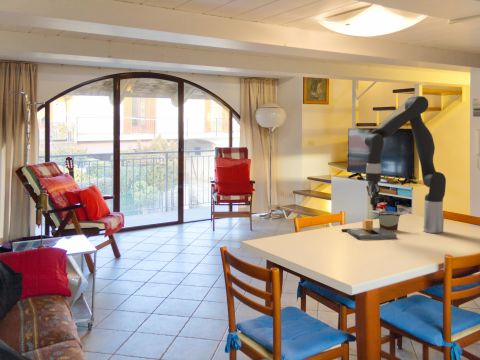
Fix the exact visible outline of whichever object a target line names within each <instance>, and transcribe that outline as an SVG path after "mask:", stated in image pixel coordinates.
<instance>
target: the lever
mask: <svg viewBox="0 0 480 360" xmlns="http://www.w3.org/2000/svg"><path fill="white" fill-rule="evenodd" d="M373 223H374V220H372V219H369V218H367V219H362V228H363V229H364V231H366V232H368V233H371V230H373V228H374V224H373Z"/></svg>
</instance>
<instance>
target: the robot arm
mask: <svg viewBox="0 0 480 360" xmlns="http://www.w3.org/2000/svg"><path fill="white" fill-rule="evenodd" d="M428 108H429V100H428V99H427V98H426V97H425V96H423V95H422V96H421V95H418V96H417V95H416V96H411V97H409V98H407V99H406V100H405V102H404V110H403V111H401V112H400V113H398V114H396V115H395V116H393V117H391V118H389V119H388V120H386V122H384V123H383V124H382V125H380V126H379V127H377V128H376V129H374V130H373V131H371V132H369V133H368V134H367V135H366V136H365V138H364V144H365V145H366V146H367V147H368V148H370V152H368V153H367V154H366V166H365V181H366V182H368V185H366V191H367V194H368V197H369V198H370V200H369V201H370V202H369V204H370V205H372V206H375V205H376V198H378V197H379V194H380V191H381V188H379V182H381V180H382V165H381V164H382V163H381V160H382V152H383V148H384V145H385V140H384V139H387V138H389V137H391V136H392V135H393V134H395V133H396V132H398V130H399V129H401V128H402V127H403V126H404V125H406V124H407V123H408V122H409V124H410V127H411V132H412V136H413V139H414V143H415V148H416V151H417V155H418V160H419V164H420V169H421V177H422V182H423V184H424V186H426V187H427V188H428V189H429V190H428V193H427V194H425V196H424V207H423V208H424V209H423V211H424V213H423V232H425V233H430V234H440V233H444V223H445V221H444V220H445V215H444V214H443V209H444V207H443V206H444V205H443V204H444V197H445V195H446V185H447V178H446V176H445V174H444V173H442V172H440V171H437V170H436V167H435V164H434V155H435V149H436V147H435V141H434V137H433V135H432V133H431V130H429V128H428V127H427V126H426V124H425V123H424V120H423V119H422V114H423V113H424V112H426V111H427V109H428Z"/></svg>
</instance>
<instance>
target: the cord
mask: <svg viewBox="0 0 480 360" xmlns="http://www.w3.org/2000/svg"><path fill="white" fill-rule="evenodd" d="M346 233H347V234H349V235H351V236H353V238H355V239H357V240H359V237H358V236H357V235H355V234H354V233H352V232H350V231H349V230H347V231H346Z"/></svg>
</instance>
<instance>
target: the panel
mask: <svg viewBox="0 0 480 360" xmlns="http://www.w3.org/2000/svg"><path fill="white" fill-rule="evenodd" d="M346 229H347V230H349V231H350V232H352V233H354V234H355V235H357V236H358V237H359V239H358V240H360V241H362V240H363V241H364V240H367V241H368V240H389V239H390V240H391V239H392V240H393V239H395V238H398V237H397V234H396V233H394V232H393V231H388V230H386V229H384V228H380V227H373V230H371V233H368V232H366V231H364V229H363V227H361V228H360V227H358V228H355V227H354V228H346Z"/></svg>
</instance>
